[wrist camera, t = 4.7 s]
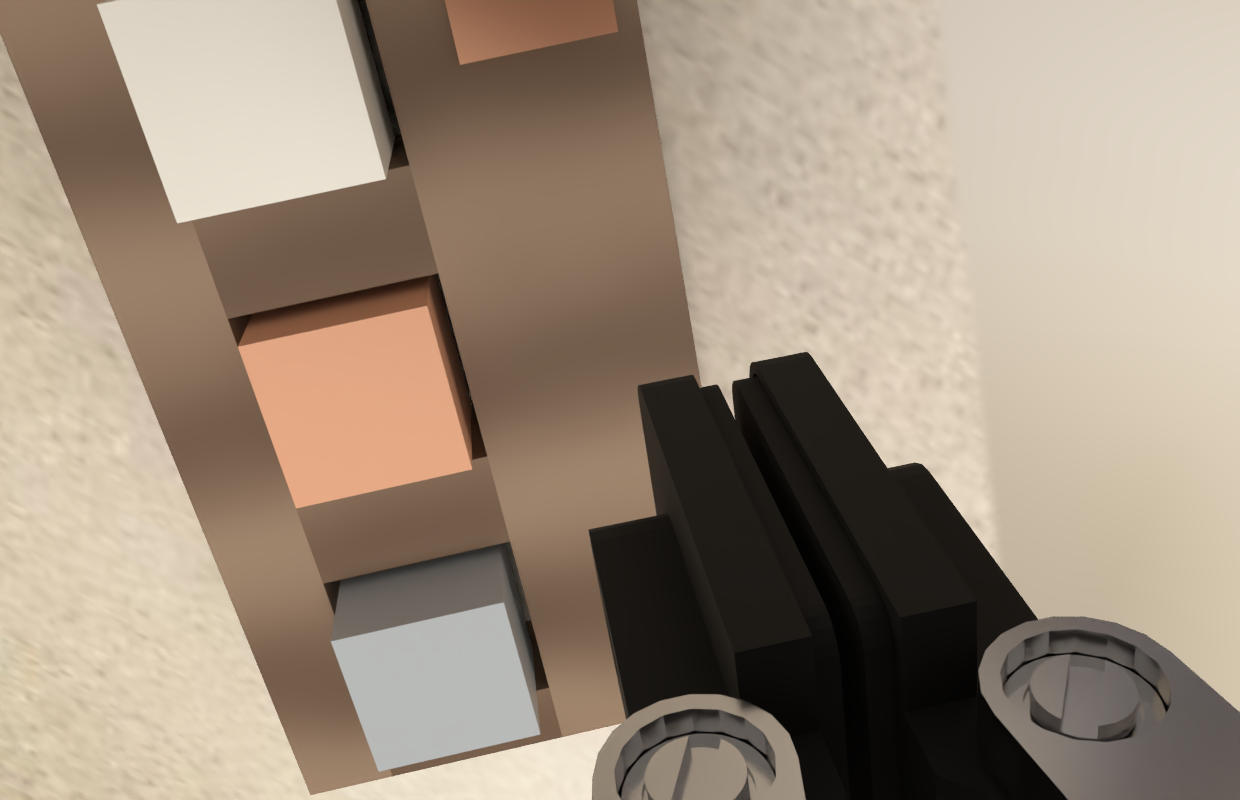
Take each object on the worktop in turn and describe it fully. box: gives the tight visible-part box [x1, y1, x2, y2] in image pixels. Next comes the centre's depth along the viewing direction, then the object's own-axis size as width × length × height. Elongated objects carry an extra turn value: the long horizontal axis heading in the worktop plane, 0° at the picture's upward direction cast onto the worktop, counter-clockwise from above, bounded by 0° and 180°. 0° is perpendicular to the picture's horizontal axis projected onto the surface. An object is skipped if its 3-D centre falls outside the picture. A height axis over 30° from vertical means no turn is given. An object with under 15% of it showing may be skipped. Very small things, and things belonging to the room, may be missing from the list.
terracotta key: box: [238, 274, 472, 508], centre depth 27 cm, size 4×4×4 cm
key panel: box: [0, 0, 701, 795], centre depth 27 cm, size 22×12×3 cm, turn 11°
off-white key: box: [97, 0, 395, 223], centre depth 23 cm, size 4×4×4 cm
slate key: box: [331, 543, 540, 772], centre depth 29 cm, size 4×4×4 cm
